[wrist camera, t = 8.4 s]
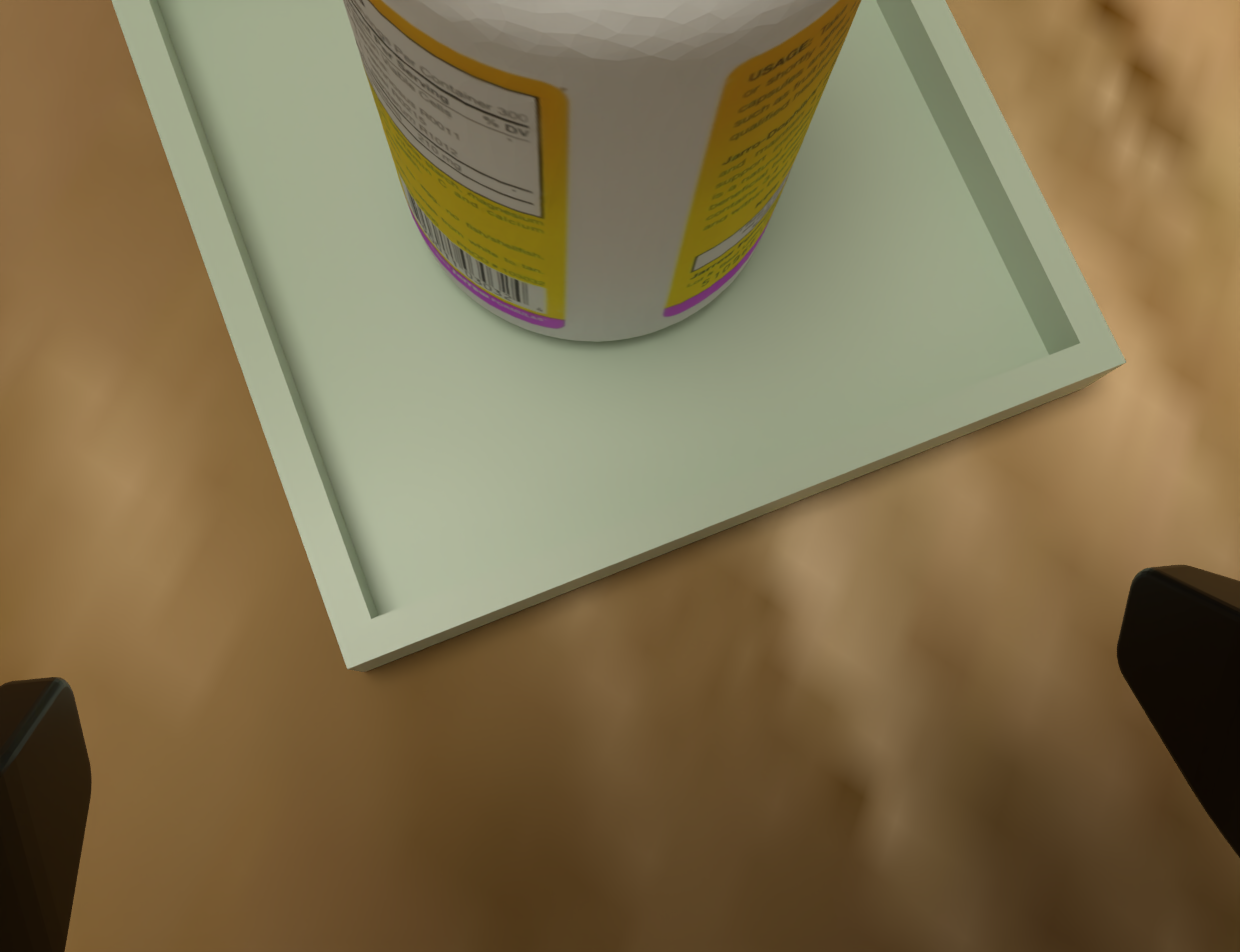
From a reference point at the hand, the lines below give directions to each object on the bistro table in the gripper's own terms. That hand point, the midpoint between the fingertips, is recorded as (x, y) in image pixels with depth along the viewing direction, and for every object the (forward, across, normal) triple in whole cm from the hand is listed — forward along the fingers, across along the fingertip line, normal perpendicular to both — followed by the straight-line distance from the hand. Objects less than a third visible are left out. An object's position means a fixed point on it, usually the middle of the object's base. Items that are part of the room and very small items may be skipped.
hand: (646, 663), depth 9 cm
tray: (+14, -2, -2) cm, 14 cm away
